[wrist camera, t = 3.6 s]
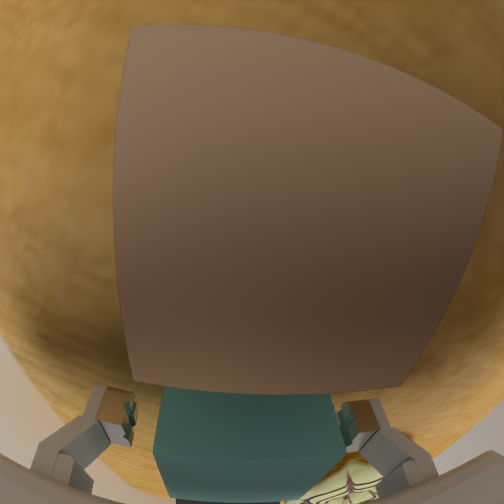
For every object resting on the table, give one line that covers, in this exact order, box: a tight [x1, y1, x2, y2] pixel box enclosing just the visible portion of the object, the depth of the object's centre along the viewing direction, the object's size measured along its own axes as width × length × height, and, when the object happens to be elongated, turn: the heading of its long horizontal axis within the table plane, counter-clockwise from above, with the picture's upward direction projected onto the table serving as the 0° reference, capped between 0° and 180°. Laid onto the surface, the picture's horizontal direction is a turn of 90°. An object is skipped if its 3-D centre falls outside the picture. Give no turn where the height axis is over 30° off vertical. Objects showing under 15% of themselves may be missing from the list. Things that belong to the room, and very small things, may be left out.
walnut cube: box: [113, 25, 503, 395], centre depth 6 cm, size 5×5×5 cm
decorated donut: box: [285, 451, 384, 504], centre depth 16 cm, size 10×11×4 cm
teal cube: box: [153, 386, 347, 503], centre depth 9 cm, size 5×5×5 cm
